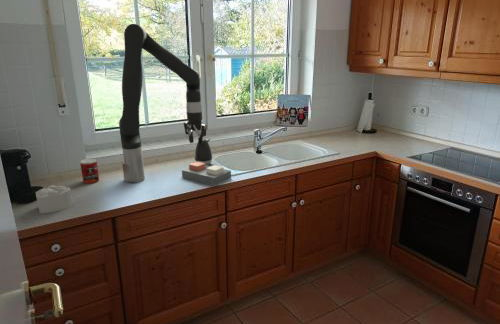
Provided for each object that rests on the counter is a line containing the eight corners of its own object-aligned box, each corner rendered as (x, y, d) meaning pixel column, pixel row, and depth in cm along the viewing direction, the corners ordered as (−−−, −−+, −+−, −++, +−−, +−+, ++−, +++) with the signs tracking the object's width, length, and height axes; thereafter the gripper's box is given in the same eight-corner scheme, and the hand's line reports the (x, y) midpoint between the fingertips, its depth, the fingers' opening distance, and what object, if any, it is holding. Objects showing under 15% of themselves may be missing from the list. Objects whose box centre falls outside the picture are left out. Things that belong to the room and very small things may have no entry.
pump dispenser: (216, 164, 212) (215, 138, 207) (202, 168, 204) (201, 142, 200) (205, 160, 218) (203, 135, 214) (191, 164, 211) (189, 139, 206)
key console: (214, 185, 179) (214, 178, 178) (182, 177, 191) (181, 170, 190) (231, 178, 189) (230, 170, 188) (199, 170, 201) (198, 163, 200)
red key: (197, 172, 188) (197, 166, 187) (189, 170, 192) (189, 164, 191) (205, 169, 193) (205, 163, 192) (197, 167, 196) (196, 161, 195)
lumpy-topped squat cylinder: (38, 206, 158) (34, 187, 156) (71, 199, 165) (67, 181, 162) (40, 214, 150) (36, 195, 147) (74, 207, 157) (71, 188, 154)
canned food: (83, 185, 182) (80, 163, 179) (82, 180, 189) (79, 159, 185) (100, 182, 185) (97, 161, 182) (98, 177, 192) (95, 157, 189)
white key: (216, 177, 182) (215, 170, 181) (206, 174, 185) (206, 168, 184) (223, 173, 186) (223, 167, 185) (214, 171, 190) (214, 165, 189)
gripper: (178, 110, 184) (180, 143, 189) (199, 113, 176) (201, 147, 181) (188, 108, 190) (190, 140, 195) (210, 110, 182) (211, 143, 187)
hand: (196, 143), depth 188 cm, fingers open, 5 cm apart
